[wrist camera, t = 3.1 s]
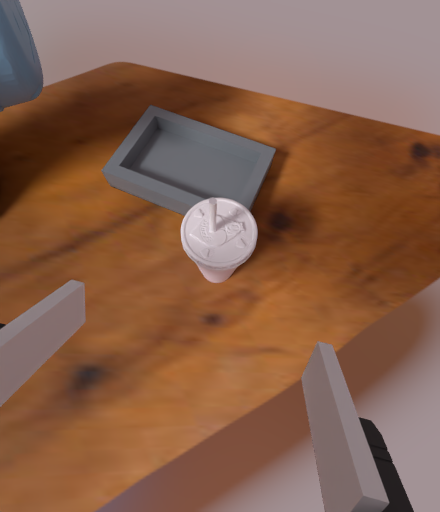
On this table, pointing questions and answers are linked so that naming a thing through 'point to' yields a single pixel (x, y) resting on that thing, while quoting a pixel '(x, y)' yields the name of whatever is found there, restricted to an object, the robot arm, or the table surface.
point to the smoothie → (218, 236)
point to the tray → (187, 163)
